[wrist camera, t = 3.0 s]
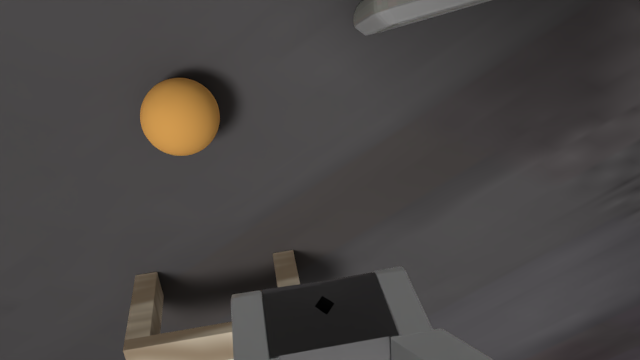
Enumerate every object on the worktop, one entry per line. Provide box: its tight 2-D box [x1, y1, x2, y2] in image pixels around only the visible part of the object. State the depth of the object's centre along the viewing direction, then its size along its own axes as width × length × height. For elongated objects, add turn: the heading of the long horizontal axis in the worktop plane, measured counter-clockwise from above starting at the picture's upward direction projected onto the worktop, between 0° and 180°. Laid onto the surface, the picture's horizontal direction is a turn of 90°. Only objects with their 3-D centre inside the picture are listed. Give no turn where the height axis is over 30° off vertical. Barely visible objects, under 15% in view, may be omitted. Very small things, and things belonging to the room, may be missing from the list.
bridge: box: [123, 250, 300, 360], centre depth 54 cm, size 3×15×10 cm, turn 95°
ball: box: [140, 78, 220, 156], centre depth 46 cm, size 6×6×6 cm
